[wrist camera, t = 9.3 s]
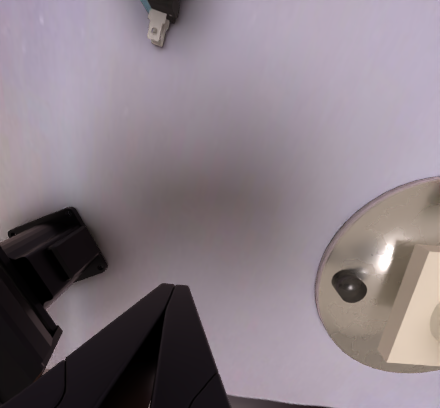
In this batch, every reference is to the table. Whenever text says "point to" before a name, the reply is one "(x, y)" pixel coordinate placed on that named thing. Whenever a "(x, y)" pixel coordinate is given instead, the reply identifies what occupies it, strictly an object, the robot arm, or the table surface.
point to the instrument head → (415, 312)
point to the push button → (160, 17)
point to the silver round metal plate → (375, 269)
